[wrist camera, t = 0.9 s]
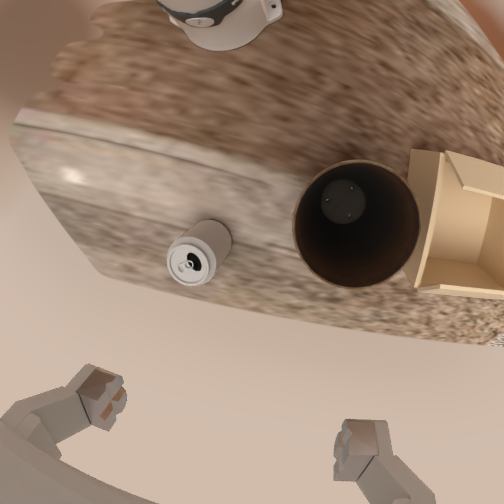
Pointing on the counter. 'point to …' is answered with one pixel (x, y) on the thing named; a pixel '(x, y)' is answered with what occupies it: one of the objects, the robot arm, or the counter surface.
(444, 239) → the carton
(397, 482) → the robot arm
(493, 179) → the flap
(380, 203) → the plant pot
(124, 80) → the counter surface
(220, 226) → the can
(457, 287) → the flap
